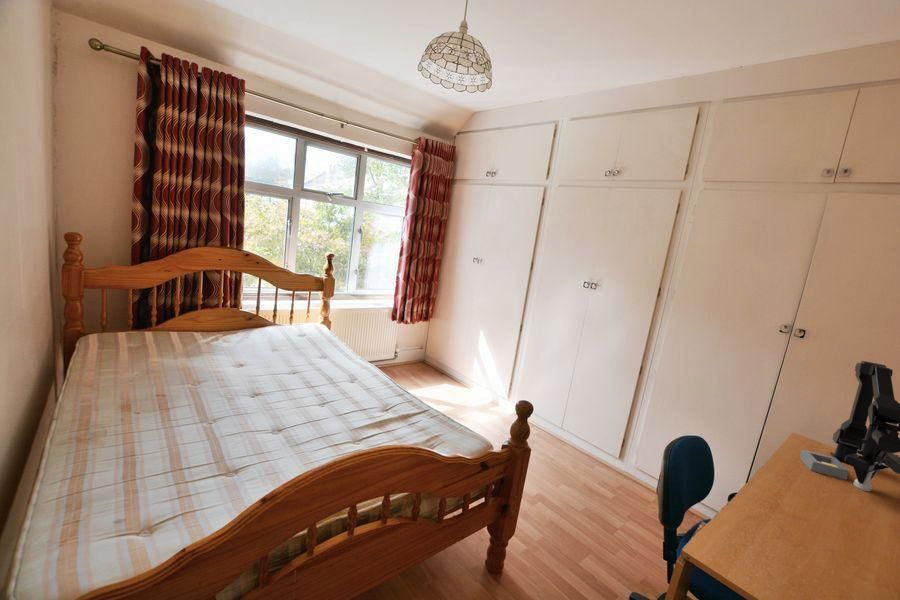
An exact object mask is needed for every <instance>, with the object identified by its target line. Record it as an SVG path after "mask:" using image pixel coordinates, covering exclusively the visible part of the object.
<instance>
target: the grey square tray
mask: <svg viewBox="0 0 900 600" xmlns="http://www.w3.org/2000/svg"><path fill="white" fill-rule="evenodd" d="M799 458H800V460H802V462H803V463H804V464H805V466H806V467H807V468H808V469H809V471H811V472H813V473H819V474H823V475H826V476H829V477H833V478H838V479H841V480H845V481H847V479H848V475H849V472H850V471H849V469H848V468H847V467H845V465H844V464H843V463H841V461H838V460H837V459H836V458H835V457H833V456H832V455H831V456H829V455H826V454H823V453H818V452H815V451H810V450H807V449H803V448H802V449H801V452H800V456H799Z"/></svg>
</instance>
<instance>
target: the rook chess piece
mask: <svg viewBox="0 0 900 600" xmlns="http://www.w3.org/2000/svg"><path fill="white" fill-rule="evenodd" d="M873 472H875V471H872V472H870V473H869V475H868V477H867V478H866V480H865V481H864V483H863V484H861V483H859V482H858V480H857V478H855V479H854V480H853V481H854V482H852V483H853V486H855V487H856V488H857V489H859V490H861V491H865V492H870V491H872V488H873V485H872V483H871V481H872V479H871V476H872V473H873ZM870 480H871V481H870Z"/></svg>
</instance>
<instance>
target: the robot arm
mask: <svg viewBox="0 0 900 600" xmlns="http://www.w3.org/2000/svg"><path fill="white" fill-rule="evenodd" d="M854 371H855V375H854V376H855V377H856V379H857V382H858V387H857V390H856V393H855V397H854V401H853V404H852V408H851V410H850V414H849V417H848V419H847V420H845V421H844V422H842V423H841V425H840V427H839V428H838V429H837V430H836V431H834V433H833V436H832V441H833V442H834V443H835V444H837V445H836V447H835V451H834V452H831V451H830V452H829V454H830V455H831V457H835V458H836V459H837V460H838V461H839V462H840V463H841V462H842V463H845V464H849V465H852V467H853V470H854V474H855V476H856V479H857V480H858V482H859V483H861V484H863V483H864V481H865V480H866V478H867V477H868V475H869V473H870V472H872V471H875V472H873V473H872V476H871V480H870V482H871V481H872V479H873V478H874V477H875V476H876V475H877V474H878V473H879V472H880V471H882V470H886V469H891V470H892V471H893V473H895V474H897V475H900V456H899V455H898V454H897V453H900V437H899V433H900V402H898V401H897V400H896V399H895V394H894V386H893V379H892V377H893V369H892V368H889V367H887V365H886V364H881V363H876V362H872V361H871V362H870V361H866V360H861V361H860V362H857V363H856V364H855V367H854ZM867 421H869V424H868V427H867Z"/></svg>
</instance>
